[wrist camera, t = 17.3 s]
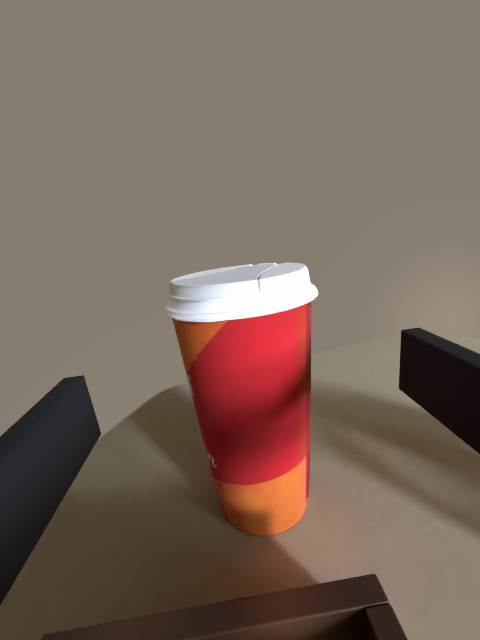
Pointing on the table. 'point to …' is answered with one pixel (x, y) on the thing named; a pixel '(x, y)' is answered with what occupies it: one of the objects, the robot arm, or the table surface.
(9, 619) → the table surface
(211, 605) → the wooden tray
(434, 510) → the table surface
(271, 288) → the paper cup
